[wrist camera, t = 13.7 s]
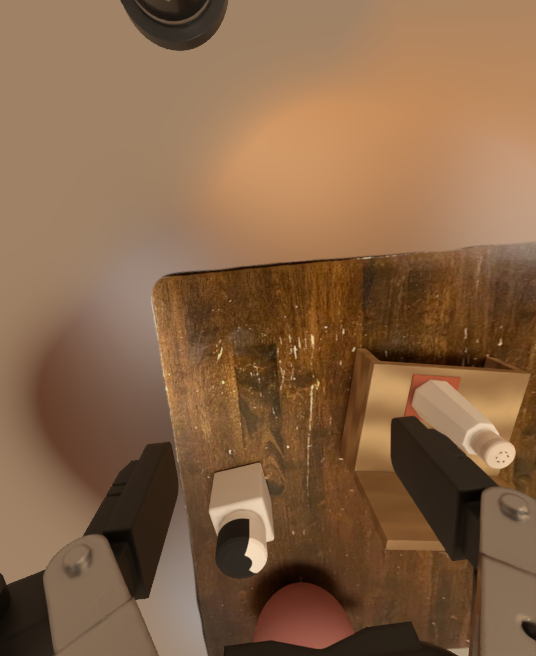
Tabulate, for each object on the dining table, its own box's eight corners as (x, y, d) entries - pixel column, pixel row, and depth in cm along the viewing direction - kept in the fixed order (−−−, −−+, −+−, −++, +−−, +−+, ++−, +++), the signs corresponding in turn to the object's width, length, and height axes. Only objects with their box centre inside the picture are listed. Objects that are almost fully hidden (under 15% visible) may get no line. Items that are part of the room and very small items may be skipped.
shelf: (357, 347, 43) (418, 405, 27) (494, 357, 44) (625, 416, 29) (340, 449, 47) (385, 550, 31) (466, 454, 48) (569, 552, 33)
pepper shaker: (435, 425, 39) (504, 491, 29) (401, 406, 38) (460, 468, 28) (462, 390, 38) (544, 446, 28) (428, 370, 37) (499, 419, 27)
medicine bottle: (226, 510, 48) (219, 593, 37) (213, 472, 46) (202, 547, 35) (271, 499, 48) (278, 579, 37) (260, 460, 46) (264, 532, 35)
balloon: (346, 636, 57) (381, 774, 42) (240, 618, 54) (238, 759, 39) (379, 572, 53) (430, 698, 38) (268, 550, 51) (276, 677, 36)
